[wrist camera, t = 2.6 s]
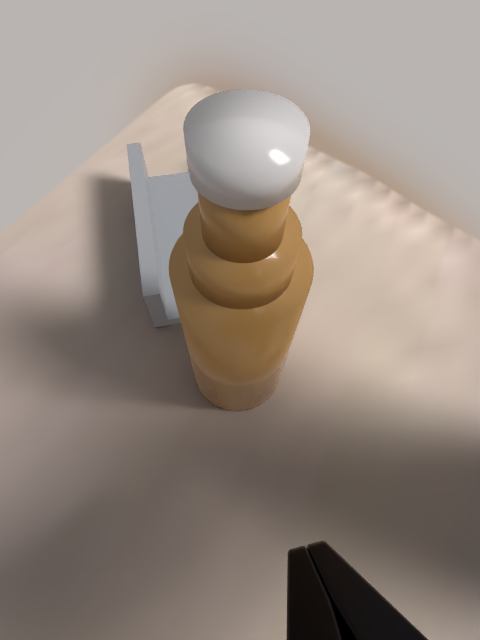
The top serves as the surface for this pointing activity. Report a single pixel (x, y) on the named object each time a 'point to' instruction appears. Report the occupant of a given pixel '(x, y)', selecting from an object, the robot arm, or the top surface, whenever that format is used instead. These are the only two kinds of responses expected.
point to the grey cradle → (158, 231)
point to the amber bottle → (242, 244)
